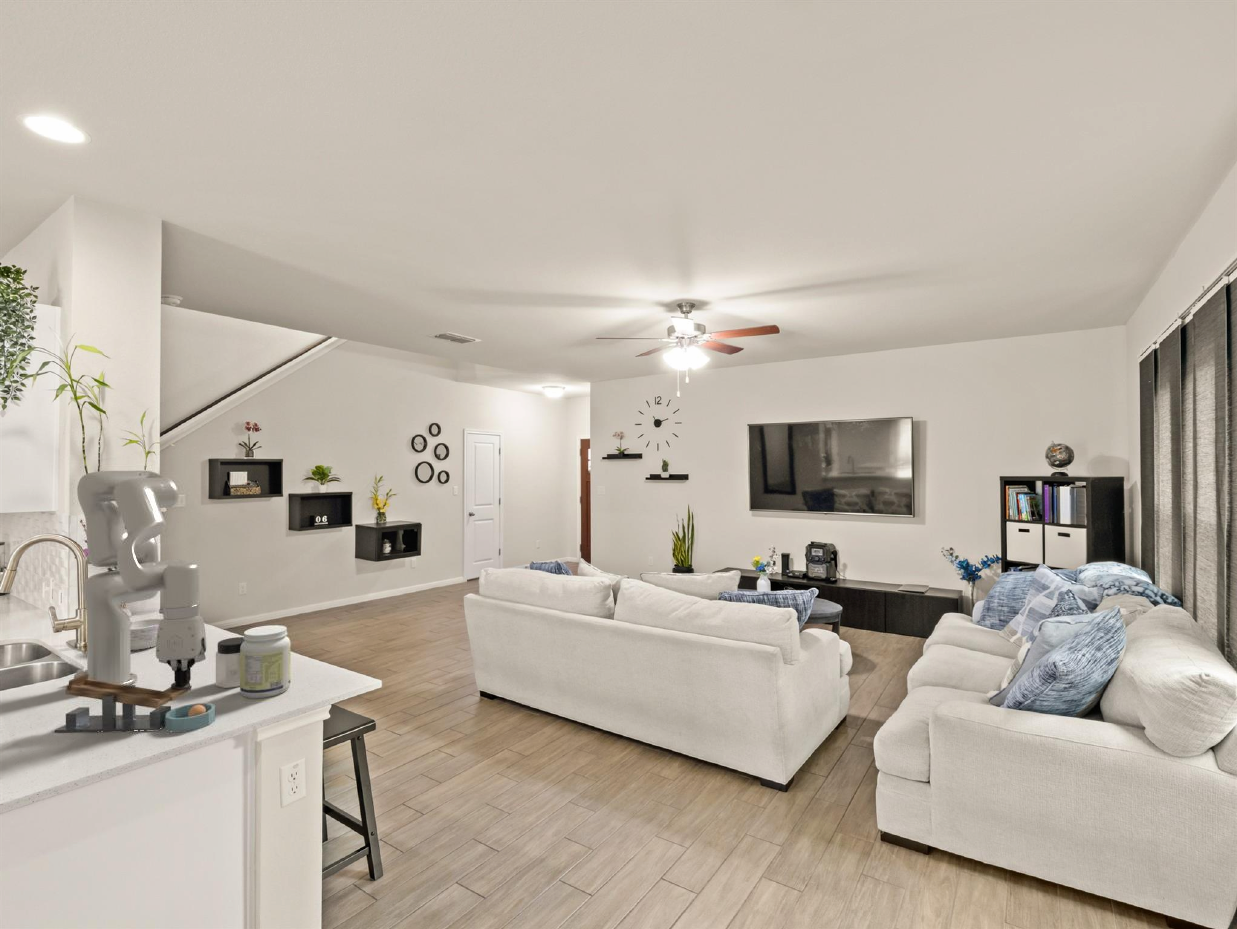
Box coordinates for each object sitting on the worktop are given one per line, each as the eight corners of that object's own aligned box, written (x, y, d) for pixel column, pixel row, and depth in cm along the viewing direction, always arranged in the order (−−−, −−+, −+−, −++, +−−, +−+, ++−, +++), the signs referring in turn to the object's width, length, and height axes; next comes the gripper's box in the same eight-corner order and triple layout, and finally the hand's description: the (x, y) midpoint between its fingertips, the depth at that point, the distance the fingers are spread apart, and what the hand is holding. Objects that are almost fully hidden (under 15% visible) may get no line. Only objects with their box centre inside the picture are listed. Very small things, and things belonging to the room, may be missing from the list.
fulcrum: (54, 732, 149) (54, 698, 149) (82, 718, 157) (82, 685, 157) (157, 731, 150) (157, 696, 150) (180, 716, 159) (180, 683, 159)
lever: (65, 693, 151) (67, 680, 151) (106, 675, 164) (108, 662, 164) (158, 709, 152) (161, 695, 152) (192, 689, 165) (194, 677, 165)
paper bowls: (119, 643, 220) (119, 620, 220) (172, 638, 227) (172, 616, 227) (105, 656, 206) (105, 631, 206) (162, 650, 213) (162, 626, 213)
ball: (201, 709, 153) (199, 723, 153) (209, 703, 157) (207, 717, 157) (186, 707, 153) (184, 722, 153) (195, 701, 156) (193, 716, 156)
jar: (216, 690, 176) (216, 647, 176) (215, 681, 183) (215, 639, 183) (253, 684, 181) (253, 642, 181) (251, 676, 188) (251, 635, 188)
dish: (156, 732, 150) (156, 719, 150) (182, 715, 159) (182, 703, 159) (199, 731, 150) (199, 718, 150) (223, 714, 160) (223, 702, 160)
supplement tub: (257, 683, 182) (257, 623, 182) (299, 684, 182) (299, 624, 182) (229, 699, 170) (229, 635, 170) (274, 700, 170) (275, 636, 170)
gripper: (140, 616, 158) (141, 691, 158) (203, 615, 159) (204, 689, 159) (160, 609, 166) (161, 681, 166) (220, 608, 167) (221, 679, 167)
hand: (182, 684), depth 163 cm, fingers closed
